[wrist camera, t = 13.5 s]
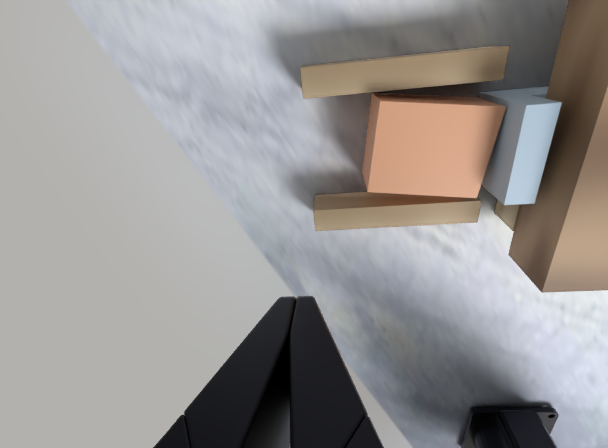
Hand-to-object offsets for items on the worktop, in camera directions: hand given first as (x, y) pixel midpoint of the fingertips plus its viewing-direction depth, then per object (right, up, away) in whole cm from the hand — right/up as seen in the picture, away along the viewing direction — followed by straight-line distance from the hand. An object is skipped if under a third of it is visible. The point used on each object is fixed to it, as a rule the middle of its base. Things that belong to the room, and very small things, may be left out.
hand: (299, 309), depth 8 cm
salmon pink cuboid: (+6, +7, +9) cm, 12 cm away
